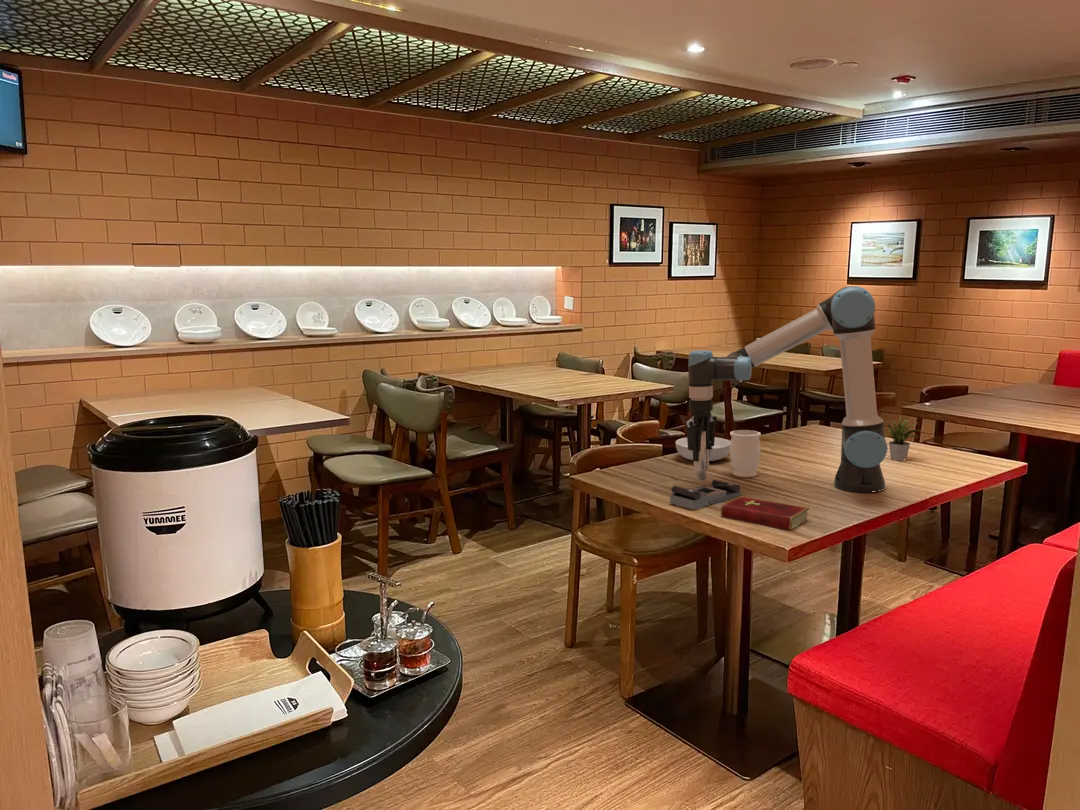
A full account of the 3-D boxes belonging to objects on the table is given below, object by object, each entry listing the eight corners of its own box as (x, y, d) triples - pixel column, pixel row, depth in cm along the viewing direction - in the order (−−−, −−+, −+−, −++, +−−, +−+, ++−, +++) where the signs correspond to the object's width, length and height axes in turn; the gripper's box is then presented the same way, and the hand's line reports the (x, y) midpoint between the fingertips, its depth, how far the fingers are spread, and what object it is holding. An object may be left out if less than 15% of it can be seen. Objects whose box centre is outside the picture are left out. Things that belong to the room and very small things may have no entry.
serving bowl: (664, 459, 292) (664, 442, 291) (698, 451, 305) (698, 434, 304) (708, 469, 276) (708, 450, 275) (742, 459, 289) (742, 441, 288)
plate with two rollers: (741, 495, 240) (742, 479, 240) (693, 510, 226) (693, 493, 226) (717, 490, 248) (718, 473, 247) (669, 504, 234) (669, 486, 233)
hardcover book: (790, 532, 206) (791, 517, 206) (720, 518, 220) (720, 504, 220) (808, 521, 215) (809, 507, 215) (740, 508, 229) (740, 494, 228)
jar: (761, 478, 260) (762, 435, 258) (730, 478, 262) (730, 435, 260) (758, 471, 270) (759, 429, 268) (728, 470, 273) (729, 429, 270)
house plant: (889, 465, 274) (891, 420, 272) (867, 456, 288) (869, 414, 285) (925, 463, 276) (928, 418, 273) (903, 454, 289) (905, 412, 287)
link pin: (708, 478, 249) (707, 430, 247) (702, 480, 248) (701, 432, 245) (700, 477, 252) (700, 429, 249) (695, 478, 250) (694, 430, 248)
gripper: (707, 394, 253) (708, 463, 257) (675, 400, 244) (676, 472, 247) (726, 396, 248) (726, 467, 251) (693, 402, 238) (694, 476, 241)
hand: (701, 469), depth 249 cm, fingers closed on link pin, 3 cm apart
